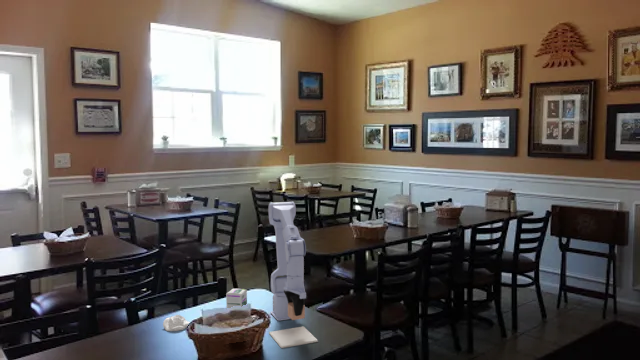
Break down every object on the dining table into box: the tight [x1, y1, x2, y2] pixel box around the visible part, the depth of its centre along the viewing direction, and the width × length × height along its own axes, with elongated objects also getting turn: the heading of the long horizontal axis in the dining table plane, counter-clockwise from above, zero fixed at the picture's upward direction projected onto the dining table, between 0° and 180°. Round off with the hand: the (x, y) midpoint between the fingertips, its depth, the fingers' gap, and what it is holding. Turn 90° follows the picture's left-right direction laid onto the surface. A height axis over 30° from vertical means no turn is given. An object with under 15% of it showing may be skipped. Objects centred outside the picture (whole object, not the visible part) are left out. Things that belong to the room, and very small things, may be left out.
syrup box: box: [225, 288, 248, 309], centre depth 181 cm, size 6×6×14 cm
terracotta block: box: [288, 303, 306, 321], centre depth 176 cm, size 4×4×4 cm
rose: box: [162, 314, 190, 332], centre depth 185 cm, size 10×4×10 cm
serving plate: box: [268, 325, 319, 349], centre depth 176 cm, size 13×13×1 cm
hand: (295, 312), depth 176 cm, fingers closed on terracotta block, 4 cm apart
